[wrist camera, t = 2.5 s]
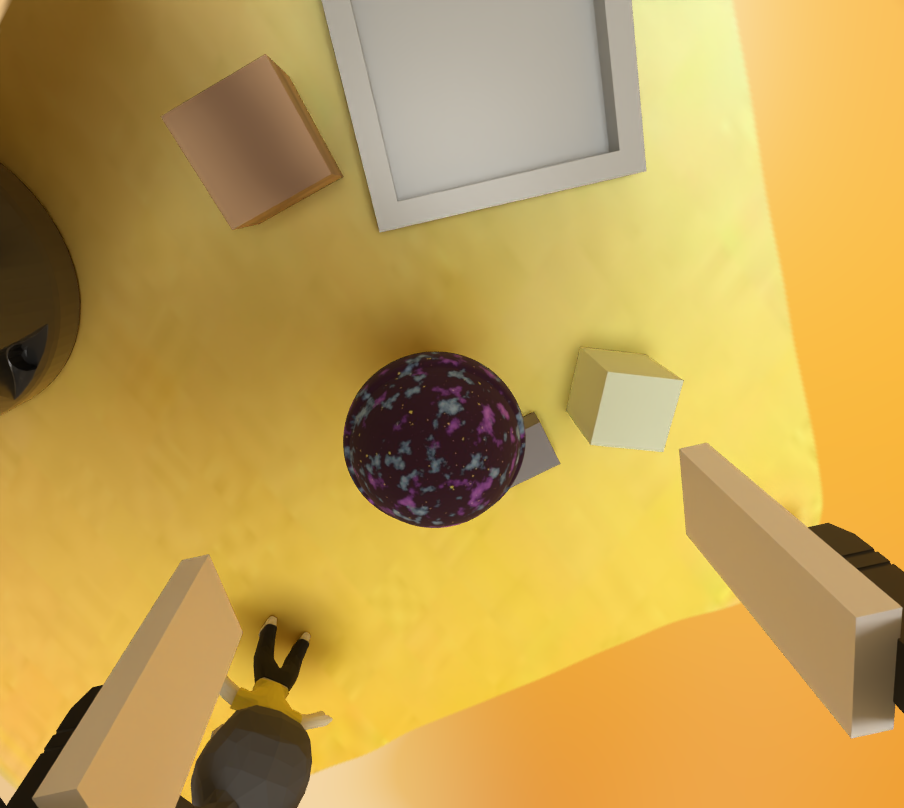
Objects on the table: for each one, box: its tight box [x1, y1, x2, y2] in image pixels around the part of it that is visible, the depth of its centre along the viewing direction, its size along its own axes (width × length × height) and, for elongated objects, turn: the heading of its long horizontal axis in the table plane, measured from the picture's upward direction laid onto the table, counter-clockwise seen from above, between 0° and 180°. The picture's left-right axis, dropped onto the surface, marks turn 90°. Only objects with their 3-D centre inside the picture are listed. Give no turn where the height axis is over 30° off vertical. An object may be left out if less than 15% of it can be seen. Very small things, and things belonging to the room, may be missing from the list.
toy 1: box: [175, 616, 332, 808], centre depth 32 cm, size 8×5×15 cm, turn 55°
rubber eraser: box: [510, 412, 560, 488], centre depth 35 cm, size 6×3×2 cm, turn 117°
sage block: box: [566, 347, 684, 452], centre depth 32 cm, size 4×4×5 cm
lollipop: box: [343, 352, 526, 528], centre depth 26 cm, size 7×7×15 cm
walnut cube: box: [161, 54, 343, 230], centre depth 26 cm, size 5×5×5 cm
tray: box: [322, 0, 646, 232], centre depth 27 cm, size 13×13×2 cm
